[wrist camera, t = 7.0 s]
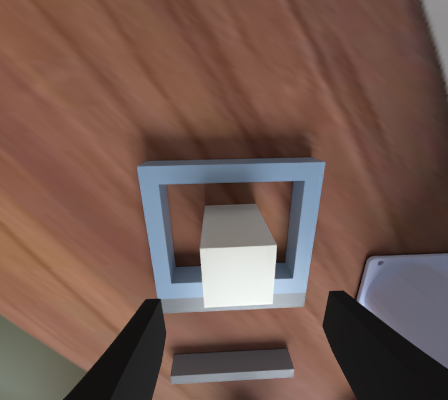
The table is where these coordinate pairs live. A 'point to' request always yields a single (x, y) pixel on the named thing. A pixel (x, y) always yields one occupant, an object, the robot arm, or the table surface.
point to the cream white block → (236, 257)
